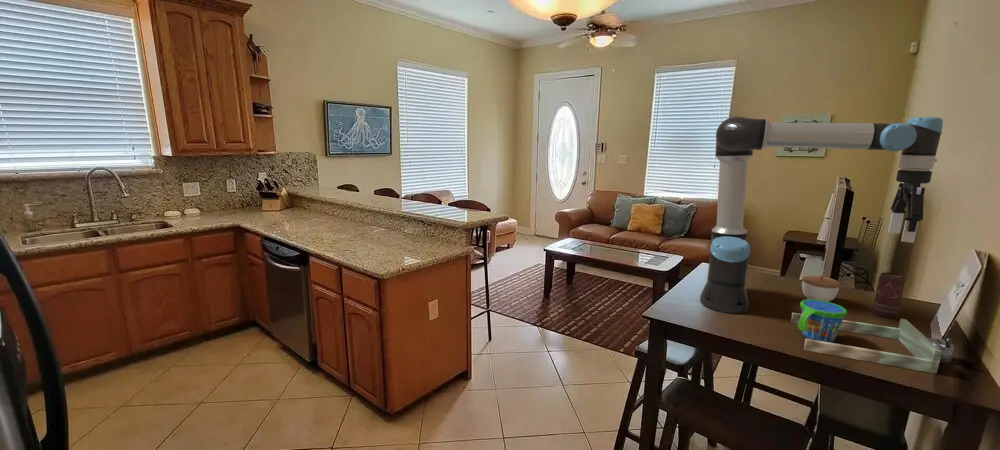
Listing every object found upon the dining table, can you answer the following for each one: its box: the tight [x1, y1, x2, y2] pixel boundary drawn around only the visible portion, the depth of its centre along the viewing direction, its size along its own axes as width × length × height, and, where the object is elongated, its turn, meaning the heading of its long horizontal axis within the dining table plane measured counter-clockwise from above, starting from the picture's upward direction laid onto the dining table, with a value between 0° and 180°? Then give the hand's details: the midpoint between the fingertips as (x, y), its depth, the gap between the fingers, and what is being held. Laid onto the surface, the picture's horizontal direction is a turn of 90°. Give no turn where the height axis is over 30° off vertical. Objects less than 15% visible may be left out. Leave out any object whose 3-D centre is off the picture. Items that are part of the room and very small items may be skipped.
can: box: [872, 272, 906, 319], centre depth 136 cm, size 6×6×14 cm
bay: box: [790, 312, 942, 374], centre depth 118 cm, size 27×20×6 cm
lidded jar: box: [801, 274, 841, 302], centre depth 149 cm, size 11×11×9 cm
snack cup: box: [797, 298, 848, 343], centre depth 121 cm, size 16×10×10 cm
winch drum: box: [927, 337, 955, 364], centre depth 109 cm, size 5×6×7 cm
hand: (900, 237), depth 130 cm, fingers open, 13 cm apart
